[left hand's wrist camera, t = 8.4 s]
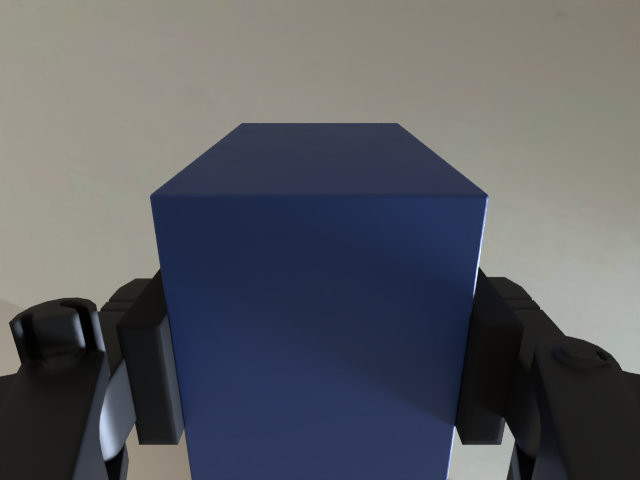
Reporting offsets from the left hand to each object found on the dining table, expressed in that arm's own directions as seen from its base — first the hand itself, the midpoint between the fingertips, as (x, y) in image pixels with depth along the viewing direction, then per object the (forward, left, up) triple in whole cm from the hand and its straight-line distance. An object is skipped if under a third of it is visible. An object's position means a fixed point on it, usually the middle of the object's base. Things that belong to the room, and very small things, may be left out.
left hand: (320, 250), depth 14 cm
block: (0, 0, -3) cm, 3 cm away
